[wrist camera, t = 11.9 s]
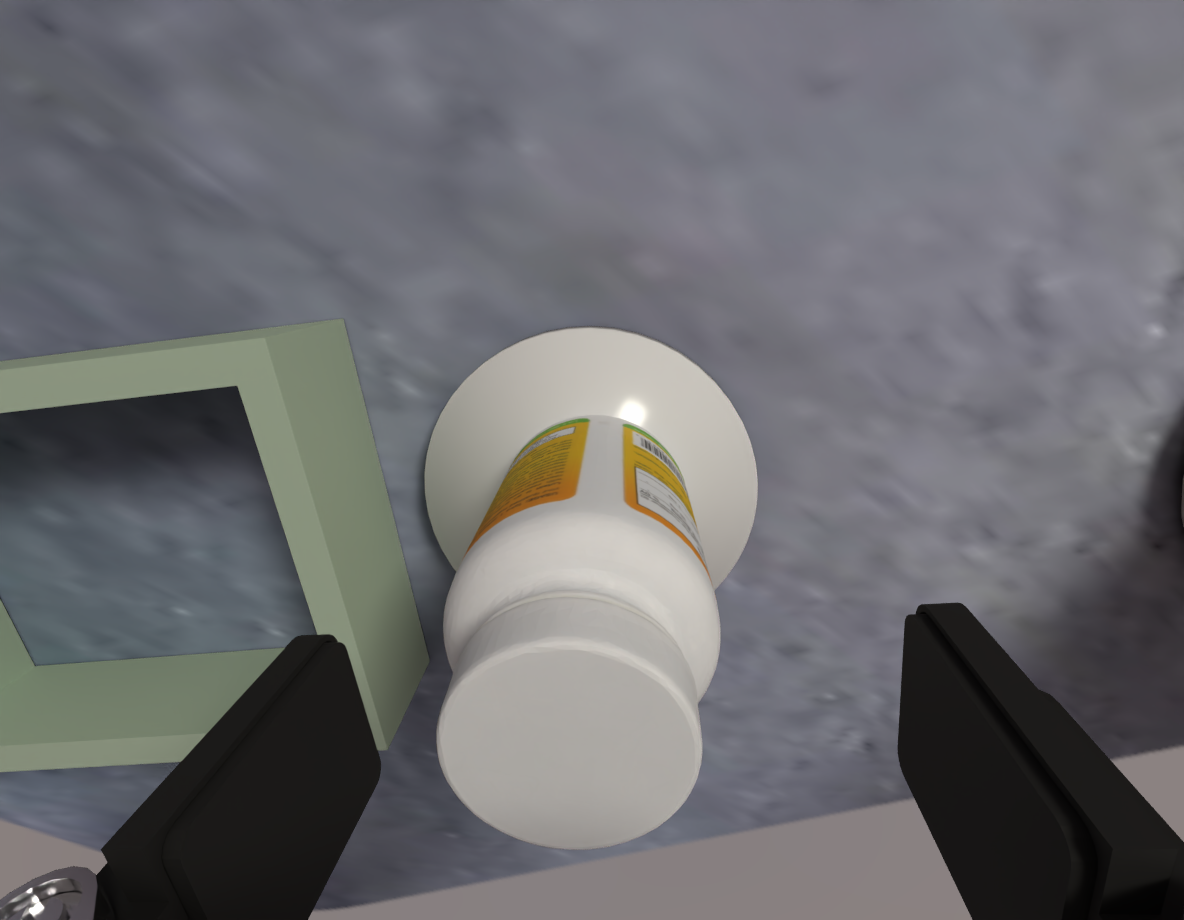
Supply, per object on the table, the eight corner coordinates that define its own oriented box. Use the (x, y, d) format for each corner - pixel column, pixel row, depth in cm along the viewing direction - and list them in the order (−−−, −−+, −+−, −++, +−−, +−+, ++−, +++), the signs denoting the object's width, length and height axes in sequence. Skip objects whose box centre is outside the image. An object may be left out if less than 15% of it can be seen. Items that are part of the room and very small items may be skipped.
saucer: (745, 305, 17) (752, 308, 16) (757, 612, 20) (762, 626, 19) (400, 346, 17) (390, 351, 17) (465, 634, 21) (459, 648, 20)
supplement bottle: (499, 563, 19) (381, 860, 10) (515, 397, 17) (388, 570, 8) (668, 588, 19) (710, 909, 10) (702, 425, 17) (795, 631, 8)
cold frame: (343, 318, 17) (238, 344, 13) (430, 660, 21) (374, 778, 16) (-143, 379, 19) (-401, 422, 14) (21, 689, 23) (-137, 805, 18)
